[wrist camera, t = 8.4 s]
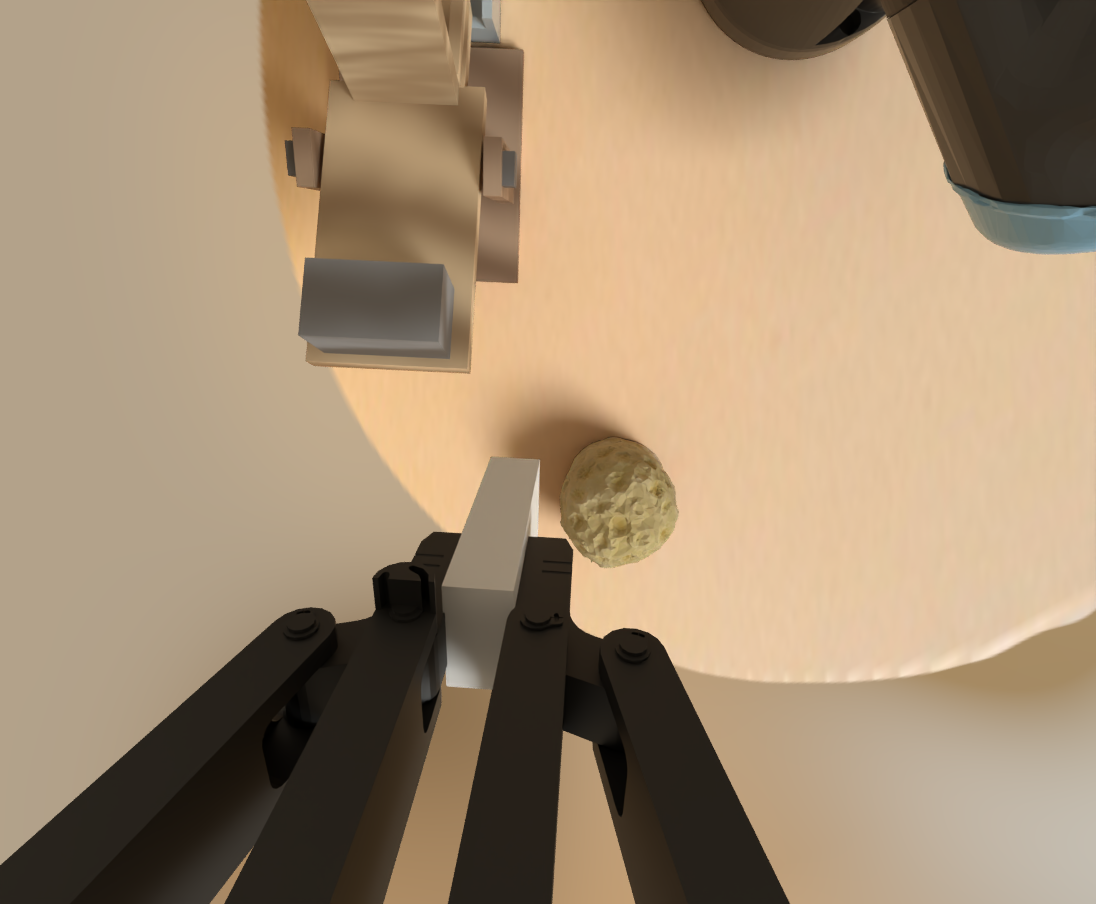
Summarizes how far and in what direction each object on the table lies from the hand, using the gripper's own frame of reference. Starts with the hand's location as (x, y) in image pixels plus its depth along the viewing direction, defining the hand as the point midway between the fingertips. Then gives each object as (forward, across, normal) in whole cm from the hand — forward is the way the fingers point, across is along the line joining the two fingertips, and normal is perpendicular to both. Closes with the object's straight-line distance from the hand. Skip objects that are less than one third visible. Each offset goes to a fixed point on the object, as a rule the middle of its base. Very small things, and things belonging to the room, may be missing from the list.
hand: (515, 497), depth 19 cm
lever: (+22, -9, +9) cm, 25 cm away
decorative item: (+30, +5, -14) cm, 34 cm away
